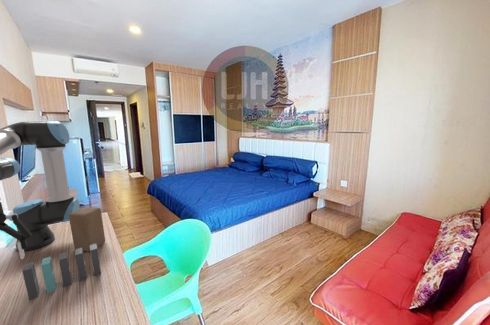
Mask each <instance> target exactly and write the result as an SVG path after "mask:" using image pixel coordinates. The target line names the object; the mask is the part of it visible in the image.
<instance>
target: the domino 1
mask: <svg viewBox="0 0 490 325" xmlns="http://www.w3.org/2000/svg"><path fill="white" fill-rule="evenodd" d="M35 266H36V265H35V263H34V261H31V262H28V263H25V264H24V266H23V268H22V275H23V279H24V283H25V284H24V285H25V288H26V293H27V296H28V297H27V298H28V301H30V300H33V299H36V298H38V297H39V293H40V285H39V280H38V275H37V272H36V267H35Z"/></svg>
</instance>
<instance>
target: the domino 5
mask: <svg viewBox="0 0 490 325" xmlns="http://www.w3.org/2000/svg"><path fill="white" fill-rule="evenodd" d="M90 256H91V263H92V269H93V275H94V277H96V276H98V275H101V274H102V272H101V271H102V270H101V264H100V257H99V251H98V247H97V245H96V244H92V245H90Z"/></svg>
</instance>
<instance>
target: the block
mask: <svg viewBox="0 0 490 325" xmlns="http://www.w3.org/2000/svg"><path fill="white" fill-rule="evenodd" d="M69 220H70V221H69V225H70V231H71V236H72V242H73V247H74V250H75V249H78V248H82V250H83V252H90V245H92V244H96V245H97V248H98V247H99V246H102V245H103V244H105V242H106V236H105V231H104V230H105V229H104V223H103V216H102V209H101V208H100V207H92V206H84V207H82V208H79V210H77V211H75V212H72V213H70V214H69ZM90 253H91V252H90Z"/></svg>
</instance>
